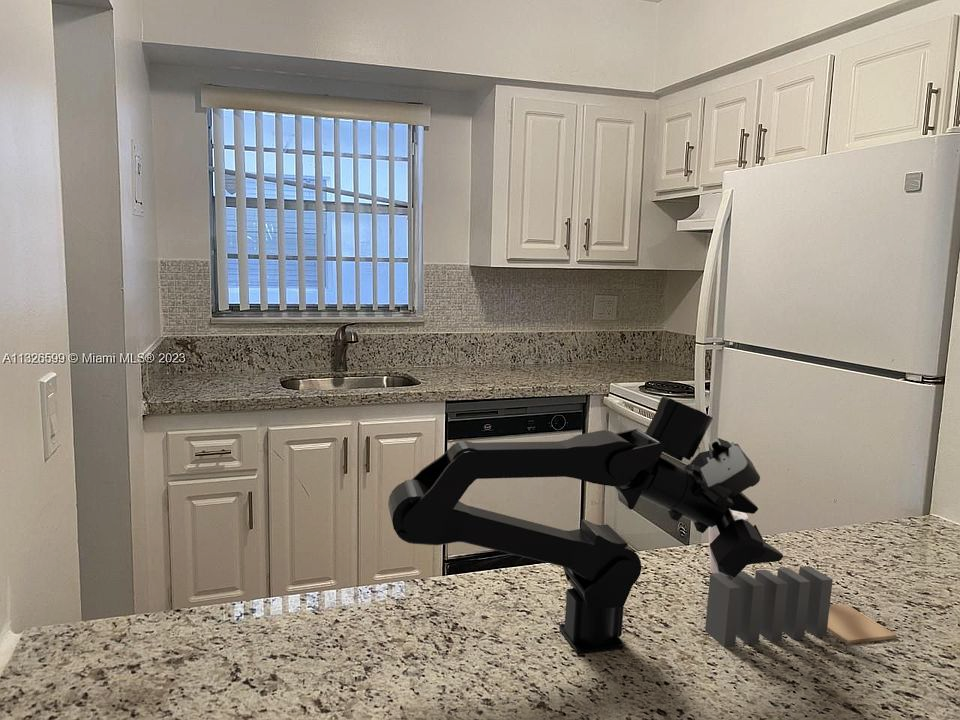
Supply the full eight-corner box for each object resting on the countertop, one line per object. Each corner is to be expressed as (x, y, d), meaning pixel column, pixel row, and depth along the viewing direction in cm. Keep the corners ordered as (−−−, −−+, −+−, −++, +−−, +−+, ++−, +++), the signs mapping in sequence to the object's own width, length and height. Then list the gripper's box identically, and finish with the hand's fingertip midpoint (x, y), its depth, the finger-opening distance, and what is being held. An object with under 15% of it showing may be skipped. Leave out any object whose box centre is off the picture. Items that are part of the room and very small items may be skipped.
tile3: (771, 642, 94) (777, 584, 93) (750, 626, 99) (755, 570, 98) (781, 641, 95) (787, 583, 94) (760, 625, 99) (765, 569, 98)
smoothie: (697, 573, 115) (705, 488, 113) (705, 560, 121) (712, 478, 119) (740, 583, 112) (748, 496, 110) (745, 569, 118) (754, 485, 116)
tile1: (724, 647, 93) (729, 588, 92) (705, 630, 97) (710, 573, 96) (735, 646, 93) (740, 587, 92) (715, 629, 97) (720, 572, 96)
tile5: (816, 637, 96) (822, 580, 95) (793, 621, 101) (799, 566, 100) (826, 636, 97) (832, 579, 96) (803, 620, 101) (809, 565, 100)
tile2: (747, 645, 94) (753, 586, 93) (727, 628, 98) (733, 571, 97) (758, 643, 94) (764, 585, 93) (738, 627, 98) (743, 571, 97)
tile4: (793, 640, 95) (800, 582, 94) (772, 623, 100) (777, 568, 99) (804, 638, 96) (810, 581, 95) (782, 622, 100) (787, 567, 99)
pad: (846, 644, 95) (847, 640, 95) (799, 611, 103) (800, 608, 103) (896, 638, 97) (896, 634, 97) (845, 607, 106) (846, 604, 106)
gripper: (737, 490, 81) (841, 541, 85) (692, 402, 98) (781, 449, 101) (677, 555, 86) (778, 601, 90) (644, 461, 102) (731, 503, 106)
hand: (767, 533), depth 96 cm, fingers open, 9 cm apart
